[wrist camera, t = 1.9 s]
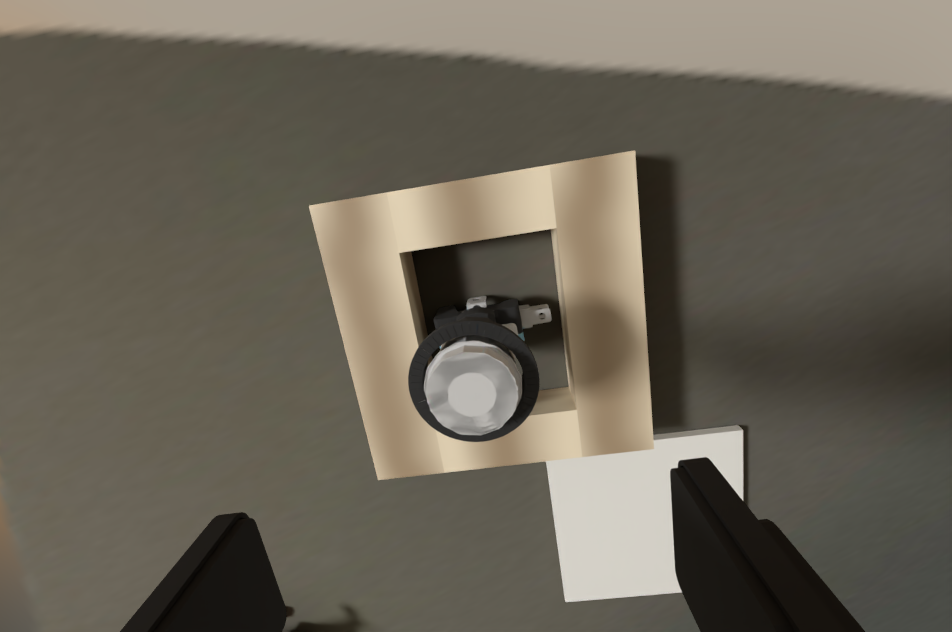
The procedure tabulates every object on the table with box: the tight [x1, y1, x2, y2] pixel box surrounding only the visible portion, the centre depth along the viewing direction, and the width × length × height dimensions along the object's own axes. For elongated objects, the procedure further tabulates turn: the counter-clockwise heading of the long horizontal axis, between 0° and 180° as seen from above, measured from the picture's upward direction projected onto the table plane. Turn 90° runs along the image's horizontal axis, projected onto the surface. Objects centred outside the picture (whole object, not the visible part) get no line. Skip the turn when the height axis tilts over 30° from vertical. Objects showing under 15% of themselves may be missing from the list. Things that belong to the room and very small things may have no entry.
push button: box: [408, 296, 552, 442], centre depth 22 cm, size 7×5×10 cm
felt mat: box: [546, 425, 743, 602], centre depth 30 cm, size 12×12×1 cm
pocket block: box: [309, 151, 654, 480], centre depth 26 cm, size 16×16×3 cm
